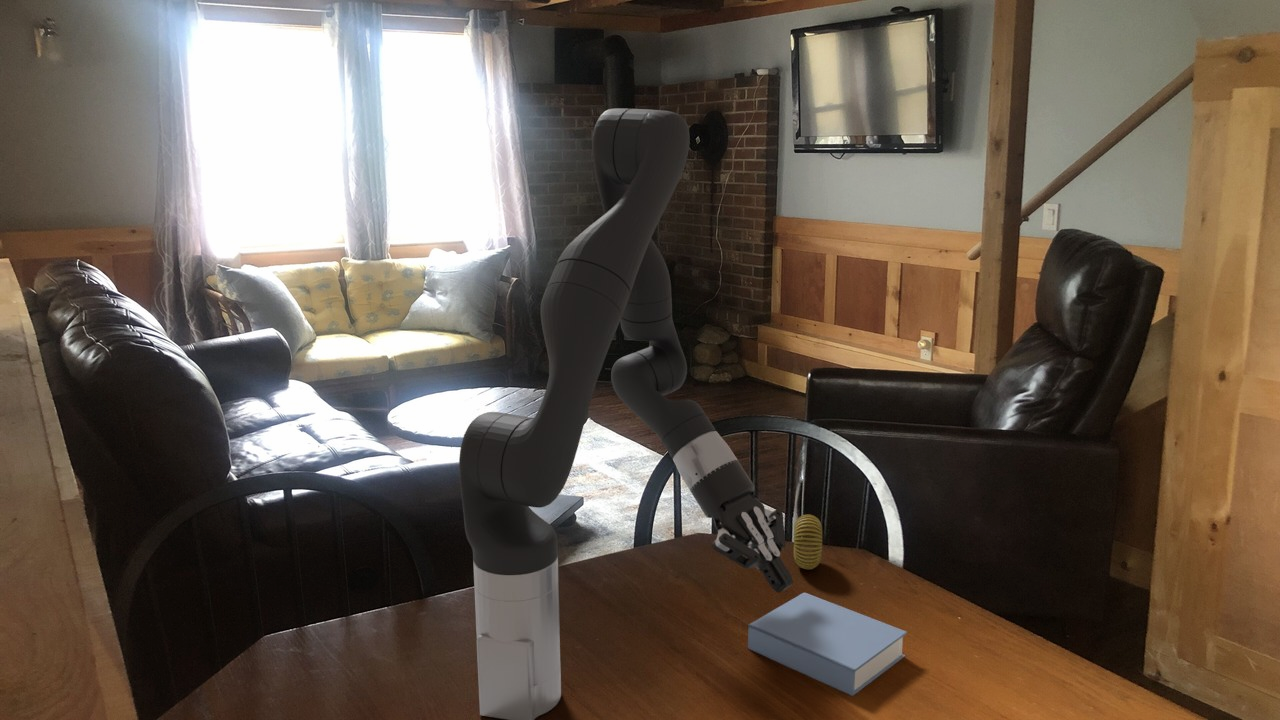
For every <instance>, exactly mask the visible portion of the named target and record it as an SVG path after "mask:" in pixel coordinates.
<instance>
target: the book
mask: <svg viewBox="0 0 1280 720" xmlns="http://www.w3.org/2000/svg"><path fill="white" fill-rule="evenodd" d="M747 628H748V631H747V633H748V634H747V649H748V650H750V651H751V652H755V653H757V654H759V655H761V656H764V657H766V658H768V659H770V660H771V661H773V662H774V661H775V662H776V663H779V664H781V665H783V666H785V667H787V668H789V669H791V670H794V671H796V672H798V673H800V674H803V675H805V676H807V677H808V678H812V679H814V680H816V681H818V682H820V683H822V684H825V685H827V686H829V687H831V688H833V689H836V690H838V691H840V692H842V693H844V694H847V695H849V696H851V697H853V696H855V695H856V694H858V693H859V692H861V691H862V689H863V688H866V687H867V686H868V685H869V684H870V683H872V682H873V681H875V680H876V679H877V678H878V677H879V676H881V675H882V674H883V673H885V672H886V671H888V670H889V669H890V668H892V667H893V666H894V665H895V664H897V663H898V662H900V661H901V660H902V659H903V658H905V657H906V655H905V654H903V641H904V637H905V636H906V635H907V633H908V631H906V630H903V629H901V628H898V627H895V626H893V625H891V624H888V623H885V622H883V621H880V620H877V619H875V618H872V617H870V616H868V615H865V614H862V613H859V612H858V611H857V612H856V611H854V610H851V609H849V608H846V607H844V606H841V605H839V604H837V603H833V602H830V601H828V600H825V599H823V598H820V597H818V596H815V595H812V594H810V593H807V592H802V593H800V594H798V595H797V596H796V597H794V598H792V599H790V600H789V601H787V602H785V603H783V604H781V605H780V606H778V607H776V608H775V609H773V610H771V611H769V612H768V613H766V614H765V615H763V616H761V617H759V618H758V619H756V620H754V621H753V622H751V623H749V624H748V627H747Z"/></svg>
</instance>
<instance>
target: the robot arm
mask: <svg viewBox="0 0 1280 720" xmlns="http://www.w3.org/2000/svg"><path fill="white" fill-rule="evenodd" d="M690 137H691V136H690V130H689V126H688V123H687V121H686V119H685V118H684V117H683V116H682V115H680V114H679V113H677V112H674V111H668V110H663V109H661V110H660V109H646V108H618V107H617V108H609V109H607V110H605V111H603V113H601V114H600V116H599V117H598V119H597V121H596V122H595V124H594V128H593V131H592V140H591V144H592V145H591V151H592V162H593V169H594V174H595V179H596V184H597V188H598V193H599V198H600V200H601V206H602V210H603V214H602V216H601V217H599V218H597V220H595V221H594V222H593V223H592V224H590V225H589V226H588V227H586V228H585V229H584V230H583V231H582V232H581V233H580V234H579V235H577V236H576V237H575V238H574V239H573V240H572V241H570V242H569V244H568V245H567V246H566V247H565V249H564V250H563V251H562V253H561V254H560V256H559V258H558V259H557V262H556V264H555V266H554V269H553V271H552V274H551V276H550V278H549V280H548V283H547V284H546V287H545V291H544V292H543V296H542V298H541V303H540V321H541V328H542V333H543V337H544V338H543V339H544V342H545V343H544V344H545V347H546V351H547V358H548V367H549V372H548V375H549V376H548V381H547V385H546V388H545V391H544V395H543V398H542V401H541V403H540V405H539V408H538V411H537V413H536V414H535V416H534V417H531V416H530V417H529V416H524V415H518V414H513V413H507V412H499V411H488V412H484V413H482V414H479V415H478V416H476V418H474V419H473V420H472V421H471V422H470V423H469V425H468V426H467V428H466V430H465V432H464V434H463V437H462V441H461V445H460V449H459V458H458V459H459V461H458V463H459V464H458V466H459V467H458V469H459V470H458V472H459V484H460V493H461V501H462V512H463V513H462V514H463V522H464V523H463V525H464V530H465V531H464V532H465V535H466V539H467V542H468V543H469V546H471V550H472V561H473V562H472V563H473V583H474V587H473V588H474V605H475V606H474V607H475V629H476V657H477V661H476V662H477V677H478V678H477V679H478V680H477V682H478V702H479V715H480V716H483V717H489V718H496V719H501V720H535V719H537V718H538V717H539V716H541V715H542V716H543V715H544V714H546V713H548V712H549V711H551V710H552V709H553V708H555V707H556V706H557V705H558V703H559V702H560V700H561V697H562V678H561V677H562V676H561V675H562V674H561V647H560V646H561V642H560V640H561V639H560V603H559V602H560V599H559V596H560V595H559V558H558V557H559V555H558V553H559V550H558V549H559V547H558V545H559V544H558V536H557V533H556V531H555V528H554V527H553V526H552V525H551V524H550V523H549V522H547V521H546V520H544V519H543V518H542V517H541V516H539V515H538V514H537V513H535V512H534V510H532V509H531V508H544V507H547V506H549V505H550V504H552V503H553V502H554V501H556V499H557V498H558V497H559V496H560V493H561V492H562V491H563V489H564V488H565V485H566V483H567V480H568V478H569V476H570V473H571V471H572V468H573V466H574V462H575V458H576V455H577V451H578V448H579V444H580V441H581V438H582V433H583V430H584V427H585V426H584V425H585V422H586V419H587V415H588V411H589V409H590V408H589V407H590V405H591V402H592V398H593V394H594V391H595V388H596V385H597V382H598V378H599V376H600V372H601V371H602V368H603V365H604V363H605V360H606V357H607V354H608V351H609V349H610V346H611V344H612V341H613V339H614V336H615V334H616V331H617V329H618V326H619V325H620V327H621V331H622V333H623V335H624V337H625V336H626V338H628V339H630V340H634V341H637V342H648V343H649V345H648V347H645V348H643V349H640V350H637V351H636V352H632V353H630V354H627V355H624V356H622V357H620V358H619V359H617V360H616V361H615V362H614V364H613V366H612V368H611V373H610V375H611V376H610V379H611V383H612V388H613V391H614V392H615V395H617V397H618V399H619V400H620V401H621V402H622V403H623V404H624V406H626V408H628V409H629V410H630V411H631V412H633V414H635V416H637V417H638V418H639V419H640V420H641V421H642V422H643V423H644V424H645V425H646V426H647V427H648V428H650V430H651V431H653V433H655V434H656V436H657V437H658V438H659V440H660V441H661V443H662V444H663V446H664V448H665V450H666V451H667V453H668V455H669V456H670V458H672V460H673V462H674V465H675V467H676V469H677V471H678V473H679V475H680V477H681V479H682V480H683V482H684V484H685V485H686V487H687V488H688V490H689V492H690V493H691V495H692V496H693V498H694V499H695V501H696V503H697V504H698V506H699V507H700V509H701V511H702V513H703V514H704V515H705V516H706V517H707V518H708V519H713V522H714V527H715V530H716V531H717V536H716V539H715V540H714V541H712V542H711V547H712V549H713V550H714V551H716V552H718V554H720V555H722V556H724V557H726V558H728V559H729V560H731V561H732V562H734V563H736V564H737V565H739V566H741V567H742V568H744V569H746V570H749V569H750V568H756V569H757V570H760V573H762V575H763V576H764V577H763V578H765V580H766V582H767V584H769V586H770V587H771V588H772V589H773V591H775V592H776V593H778V594H779V593H781V592H783V591H785V590H786V589H788V588H789V587H791V586H792V585H793V584H794V580H793V577H792V575H791V573H790V571H789V570H788V568H787V566H786V565H785V564H784V562H783V560H782V559H781V557H780V556H781V552H782V550H784V549H785V548H786V544H787V543H786V535H785V523H784V514H783V511H782V510H781V509H779V508H777V509H775V510H773V511H772V510H770V509H767V508H765V505H764V504H763V502H761V501H760V500H759V499H758V498H757V497H756V496H755V494H754V491H755V487H756V486H755V484H754V483H753V481H752V480H751V478H750V477H749V475H748V473H747V472H746V470H745V469H744V468H743V465H742V464H741V463H740V461H739V460H738V458H737V457H736V456H735V454H734V452H733V450H732V449H731V448H730V446H729V445H728V444H727V442H726V441H725V439H723V438H722V436H721V435H720V433H718V431H717V430H716V428H715V427H714V425H713V424H712V422H711V420H710V419H709V418H708V415H707V414H706V413H705V411H704V410H703V408H702V407H701V405H700V404H699V403H698V402H697V401H695V400H692V399H683V400H672V399H671V400H670V399H669V398H667V397H666V396H667V395H669V394H672V393H673V392H676V391H677V390H679V389H680V388H681V387H682V386H683V384H684V383H685V381H686V379H687V372H688V365H687V360H686V356H685V353H684V351H683V349H682V346H681V343H680V339H679V336H678V333H677V330H676V327H675V324H674V320H673V301H672V300H673V299H672V284H671V283H672V282H671V278H670V272H669V269H668V266H667V264H666V261H665V258H664V257H663V254H661V251H660V250H659V248H658V247H657V245H656V243H655V242H654V240H653V238H652V236H653V235H654V232H655V230H656V228H657V226H658V224H659V222H660V219H661V217H663V214H664V212H665V210H666V207H667V206H668V205H669V202H670V200H671V198H672V197H673V194H674V192H675V190H676V188H677V186H678V184H679V182H680V179H681V177H682V174H683V172H684V169H685V167H686V163H687V160H688V155H689V150H690V142H691V140H690Z"/></svg>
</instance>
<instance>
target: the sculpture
mask: <svg viewBox="0 0 1280 720" xmlns="http://www.w3.org/2000/svg"><path fill="white" fill-rule="evenodd" d="M822 525H823V524H822V523H821V521H820V519H819V518H818V517H817V516H815V515H813V514H809V513H808V514H803V515H800V516H799V517H798V518H797V519H796V521H795V523H794V528H793V559H794V562H795V564H796V565H797V566H798V567H799V568H801V569H804V570H813V569H815V568H817V567H818V566H819V565H820V563H821V562H822V561H821V560H822V556H823V526H822Z"/></svg>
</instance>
